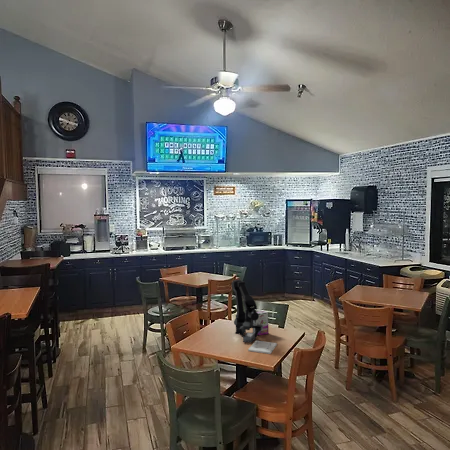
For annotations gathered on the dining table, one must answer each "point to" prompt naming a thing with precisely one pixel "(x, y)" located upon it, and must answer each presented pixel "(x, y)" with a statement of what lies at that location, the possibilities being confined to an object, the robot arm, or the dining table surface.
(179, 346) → the dining table surface
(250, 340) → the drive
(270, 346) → the tray
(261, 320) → the candy bar box
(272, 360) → the dining table surface
